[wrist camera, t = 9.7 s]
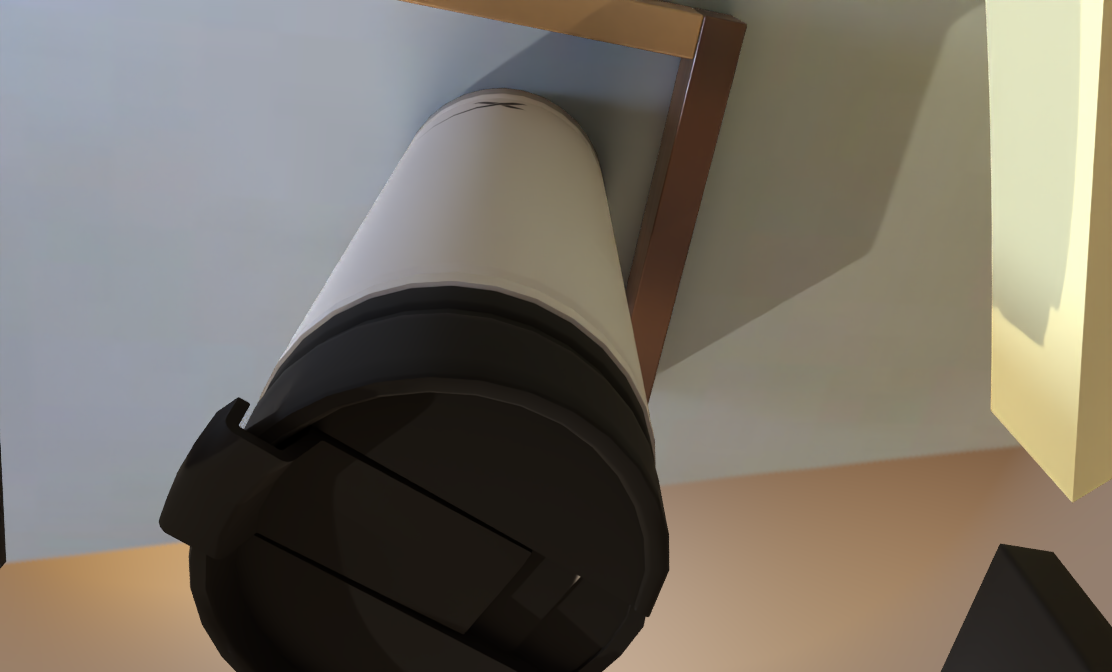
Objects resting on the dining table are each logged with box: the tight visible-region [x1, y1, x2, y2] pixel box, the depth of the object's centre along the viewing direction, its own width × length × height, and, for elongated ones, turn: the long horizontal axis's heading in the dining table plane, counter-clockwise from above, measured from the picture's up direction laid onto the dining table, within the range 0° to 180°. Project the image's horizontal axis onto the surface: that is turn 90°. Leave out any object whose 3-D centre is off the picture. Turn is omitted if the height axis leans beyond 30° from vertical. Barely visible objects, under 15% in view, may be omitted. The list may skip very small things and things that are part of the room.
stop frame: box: [399, 0, 747, 404], centre depth 29 cm, size 12×10×2 cm
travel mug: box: [159, 88, 669, 672], centre depth 21 cm, size 6×7×20 cm
